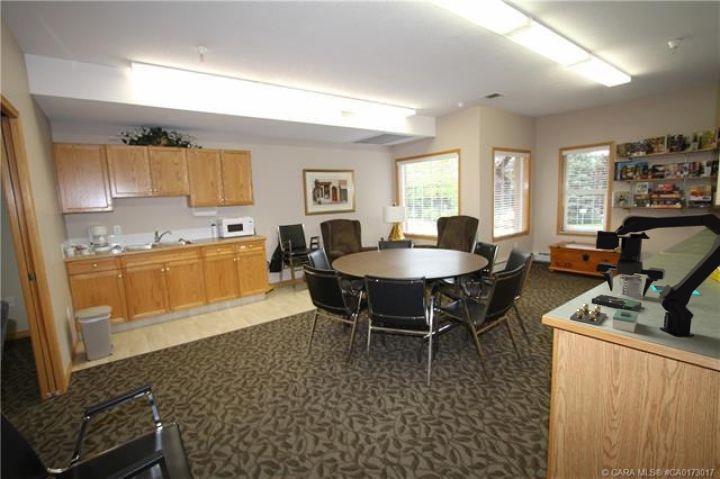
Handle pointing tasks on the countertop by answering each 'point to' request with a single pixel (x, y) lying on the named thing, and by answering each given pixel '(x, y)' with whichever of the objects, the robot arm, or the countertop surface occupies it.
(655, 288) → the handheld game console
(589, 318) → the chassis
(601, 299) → the disk drive
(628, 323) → the board
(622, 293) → the french press
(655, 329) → the countertop surface
